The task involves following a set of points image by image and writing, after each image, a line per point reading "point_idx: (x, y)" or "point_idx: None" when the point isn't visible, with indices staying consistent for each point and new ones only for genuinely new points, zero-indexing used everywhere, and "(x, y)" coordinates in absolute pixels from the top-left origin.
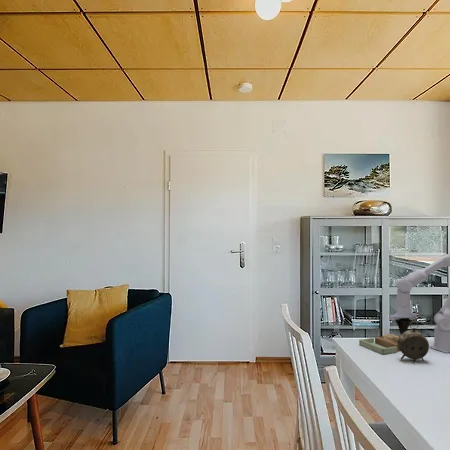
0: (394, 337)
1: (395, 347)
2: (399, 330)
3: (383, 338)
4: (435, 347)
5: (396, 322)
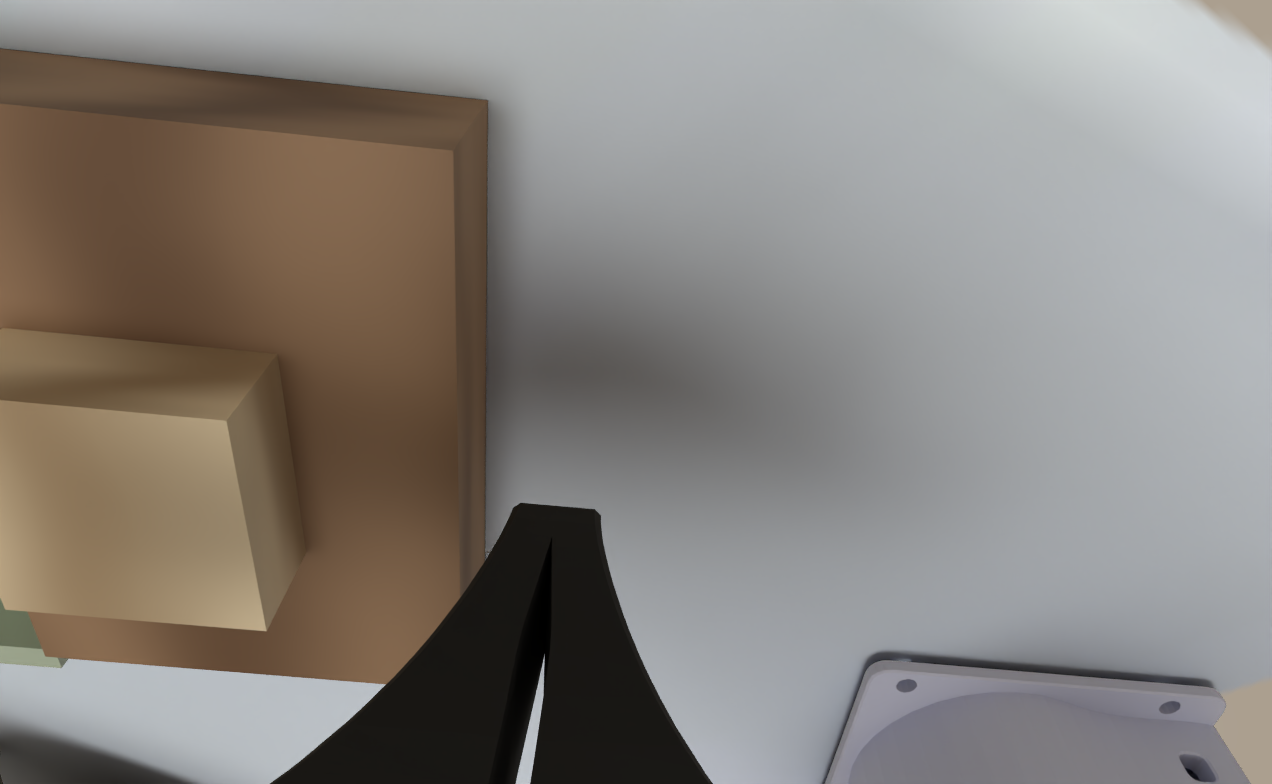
0: (113, 613)
1: (23, 661)
2: (484, 563)
3: (46, 276)
4: (876, 744)
5: (314, 752)
